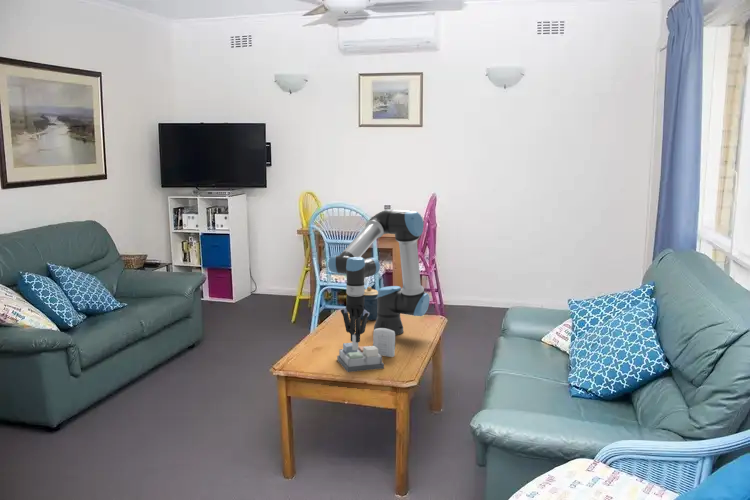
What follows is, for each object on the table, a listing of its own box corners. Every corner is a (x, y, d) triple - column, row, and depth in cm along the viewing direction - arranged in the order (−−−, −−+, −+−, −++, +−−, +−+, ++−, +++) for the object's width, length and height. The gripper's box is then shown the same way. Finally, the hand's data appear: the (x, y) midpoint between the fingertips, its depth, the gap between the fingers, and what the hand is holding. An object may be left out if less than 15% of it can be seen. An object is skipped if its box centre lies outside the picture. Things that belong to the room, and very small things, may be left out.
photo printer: (396, 355, 280) (396, 328, 278) (392, 357, 276) (393, 330, 274) (374, 352, 284) (375, 325, 282) (371, 354, 280) (371, 328, 278)
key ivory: (374, 353, 267) (374, 345, 267) (378, 357, 262) (378, 349, 262) (363, 354, 265) (363, 346, 265) (366, 358, 261) (366, 350, 260)
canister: (385, 317, 345) (385, 286, 342) (370, 322, 335) (370, 290, 332) (367, 313, 353) (367, 283, 350) (352, 317, 343) (352, 286, 340)
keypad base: (371, 356, 277) (372, 346, 276) (383, 368, 262) (384, 357, 261) (337, 360, 272) (337, 349, 271) (347, 372, 257) (347, 360, 256)
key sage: (358, 359, 265) (358, 351, 265) (362, 363, 260) (362, 355, 260) (347, 360, 264) (347, 352, 263) (350, 364, 259) (350, 356, 258)
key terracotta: (369, 353, 274) (369, 345, 273) (372, 356, 269) (372, 348, 269) (358, 354, 272) (358, 346, 272) (361, 357, 268) (361, 349, 267)
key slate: (354, 350, 271) (354, 342, 271) (357, 353, 267) (357, 345, 266) (343, 351, 270) (343, 343, 269) (346, 354, 265) (346, 346, 265)
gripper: (337, 294, 257) (337, 349, 261) (365, 298, 252) (365, 354, 255) (346, 291, 264) (346, 344, 268) (373, 294, 258) (373, 348, 262)
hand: (355, 349), depth 261 cm, fingers closed
